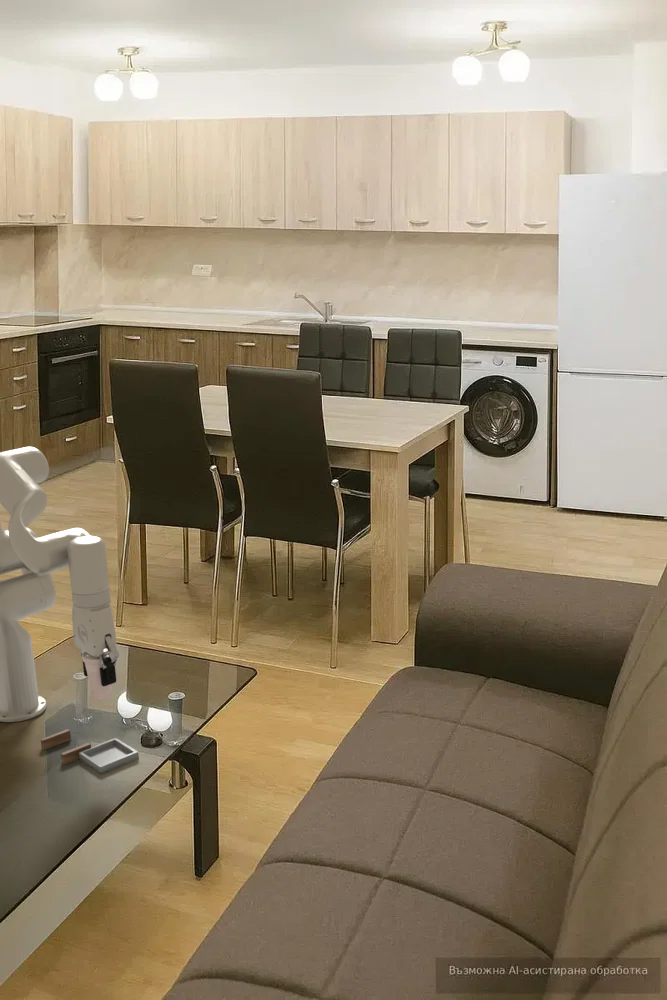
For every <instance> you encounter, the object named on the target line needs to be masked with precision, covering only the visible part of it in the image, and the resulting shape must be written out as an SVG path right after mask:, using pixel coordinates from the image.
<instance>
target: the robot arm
mask: <svg viewBox="0 0 667 1000" xmlns="http://www.w3.org/2000/svg"><path fill="white" fill-rule="evenodd" d="M49 466H50V464H49V463H48V460H47V458H46V456H45V454H43V452H42V451H40V449H38V448H36V447H34V446H25V447H23V446H22V447H20V448H14V449H10V450H9V449H8V450H4V451H0V504H1V505H2V507H3V508H4V510H5V511H7V513H8V514H9V515H10V518H9V520H8V529H4V528H3V527H2V524H1V523H0V576H1V575H5V574H8V573H11V572H14V571H19V570H20V571H21V573H22V574H21V575H18V576H14V577H9V578H6V579H3V580H0V722H1V723H16V722H17V723H18V722H22V721H26V720H30V719H33V718H35V717H38V716H39V715H41V714H42V713H44V711H45V710H46V708H47V700H46V699H45V698H44V697H43V696H40V695H39V689H38V682H37V673H36V664H35V658H34V648H33V642H32V641H33V640H32V637H31V634H30V632H29V631H28V630H27V629H26V628H25V627H24V626H22V625H21V624H20V621H21V620H22V619H25V618H28V617H30V616H34V615H36V614H40V613H42V612H45V611H48V610H50V609H51V608H53V606H54V605H55V603H56V600H57V592H56V587H55V583H54V579H53V577H52V574H51V573H54V572H56V571H60V570H64V569H66V568H68V570H69V579H70V588H71V595H72V597H71V599H72V613H71V615H72V617H71V618H72V619H71V621H72V637H73V644H74V645H75V647H76V648H78V649H79V650H80V657H81V658H82V655H83V653H84V652H87V653H89V654H91V655H92V656H95V657H99V660H100V663H101V667H102V668H100V676H101V685H102V686H107V685H110V684H112V685H113V684H116V683H117V674H116V664H117V661H118V658H119V657H120V653H119V650H118V649H117V636H116V635H117V634H116V630H115V629H116V627H115V622H114V616H113V612H112V608H111V603H112V597H111V588H110V587H111V586H110V580H109V579H110V578H109V569H108V558H107V557H108V556H107V548H106V543H105V541H104V539H103V538H101V537H99V536H96V535H92V534H90V533H89V532H88V531H87V530H86V529H84V528H81V527H72V528H67V529H64V530H61V531H57V532H52V533H49V534H46V535H43V536H39V537H38V535H37V534H36V533H35V532H34V530H32V529H31V528H29V527H28V526H30V525H31V523H33V522H34V521H36V519H38V518H39V516H41V514H42V513H43V512H44V510H45V509H46V507H47V505H48V496H47V493H46V491H44V489H43V488H42V487H41V486H40V485H39V484H40V483H43V482H45V481H46V479H47V478H48V476H49V474H50V467H49ZM106 648H107V650H108V651H106V652H103V651H104V649H106ZM107 654H108V655H109V657H108V658H107V659H106V660H104V655H107ZM82 669H83V675H84V676H85V677H86V678H87V677H88V675H87V671H86V667H85V662H83V661H82Z"/></svg>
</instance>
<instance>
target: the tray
mask: <svg viewBox="0 0 667 1000" xmlns="http://www.w3.org/2000/svg"><path fill="white" fill-rule="evenodd" d="M139 755H140V754H139V751H138V750H136V749H134V748H133V747H132V746H129V745H128V744H126V743H125V742H124V741H121V739H118V738H117V737H114V738H112V739H109V740H107V741H104V742H101V743H98V744H96V745H94V746H91V748H89V749H86V750H83V751H81V752H79V759H78V760H80V761H81V762H83V763H84V764H85V765H87V767H90V769H91V768H92V769H93V770H94V771H96V772H97V773H99V774H100V775H103V774H105V773H108V772H110V771H113V770H115V769H118V768H120V767H122V766H124V765H126V764H127V765H128V764H129V763H132V762H134V761H137V760H139V757H140V756H139Z"/></svg>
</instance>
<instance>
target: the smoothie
mask: <svg viewBox="0 0 667 1000" xmlns="http://www.w3.org/2000/svg"><path fill="white" fill-rule="evenodd" d="M106 651H108V650H107V648H106V649H104V651H103V652H106ZM108 657H109V655H108V654H107V655H104V660H106V659H107V658H108ZM81 658H82V659H81V661H82V663H83V662H85V667H86V671H87V675H88V676H87V677H88V682H89V687H90V690H91V695H92V698H93V700H94V701H106V700H109V699H110V698H111V697H112V685H113V684H110V685H107V686H102V685H101V676H100V668H102V667H101V663H100V660H99V657H95V656H92V655H91V654H89V653H87V652H84V653H83V655H82V657H81Z"/></svg>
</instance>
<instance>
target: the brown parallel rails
mask: <svg viewBox="0 0 667 1000" xmlns="http://www.w3.org/2000/svg"><path fill="white" fill-rule="evenodd" d="M71 740H72V737H71V730H70V729H68V728H66V729H64V730H62V731H59V732H56V733H53V734H51V735H48V736H45V737H43V738H41V739H40V746H41V750H43V751H46V750H48V749H50V748H53V747H55V746H58V745H60V744H63V743H66V742H69V741H71ZM91 747H92V744H91V743H90V742H87V743H84V744H81V745H79V746H76V747H74V748H71V749H69V750H66V751H64V752H61V754H60V757H61V764H63V765H67V764H70V763H72V762H74V761H76V760H80V759H79V752H81V751H83V750H86V749H89V748H91Z"/></svg>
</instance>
